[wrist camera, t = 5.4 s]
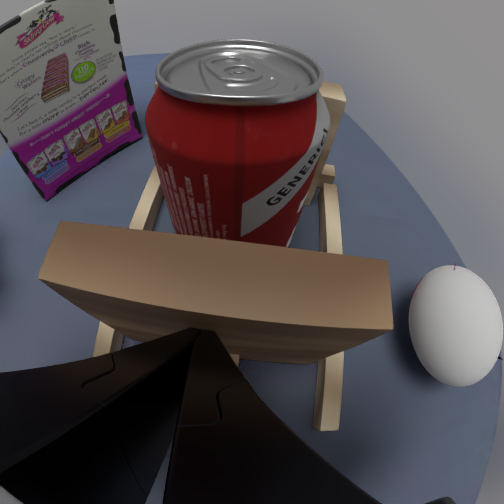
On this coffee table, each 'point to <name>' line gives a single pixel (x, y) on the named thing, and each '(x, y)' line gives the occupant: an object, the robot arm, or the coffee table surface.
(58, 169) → the candy bar box
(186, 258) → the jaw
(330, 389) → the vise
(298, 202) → the soda can
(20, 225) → the coffee table surface
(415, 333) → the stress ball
